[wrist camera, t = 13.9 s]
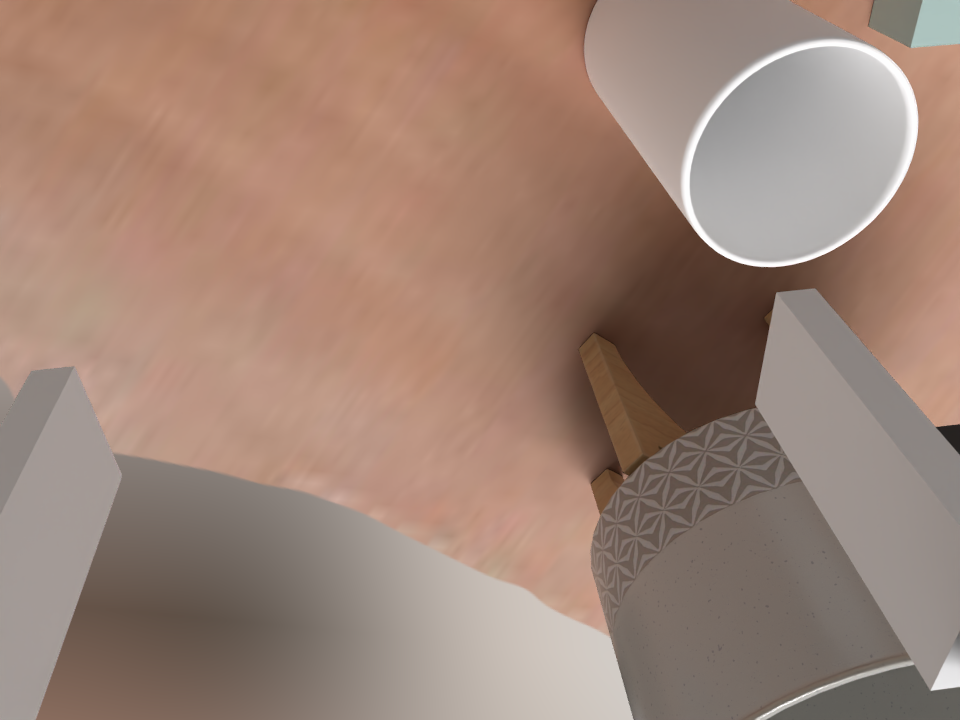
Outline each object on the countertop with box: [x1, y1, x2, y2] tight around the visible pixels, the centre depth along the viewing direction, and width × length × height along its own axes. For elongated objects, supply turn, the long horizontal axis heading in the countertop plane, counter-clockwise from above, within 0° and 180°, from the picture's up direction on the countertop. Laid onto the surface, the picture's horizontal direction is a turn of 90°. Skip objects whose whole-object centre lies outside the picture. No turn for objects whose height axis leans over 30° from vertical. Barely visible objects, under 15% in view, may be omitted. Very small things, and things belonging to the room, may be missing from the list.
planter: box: [579, 309, 960, 720], centre depth 45 cm, size 19×19×26 cm
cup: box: [584, 0, 918, 267], centre depth 34 cm, size 8×8×16 cm
